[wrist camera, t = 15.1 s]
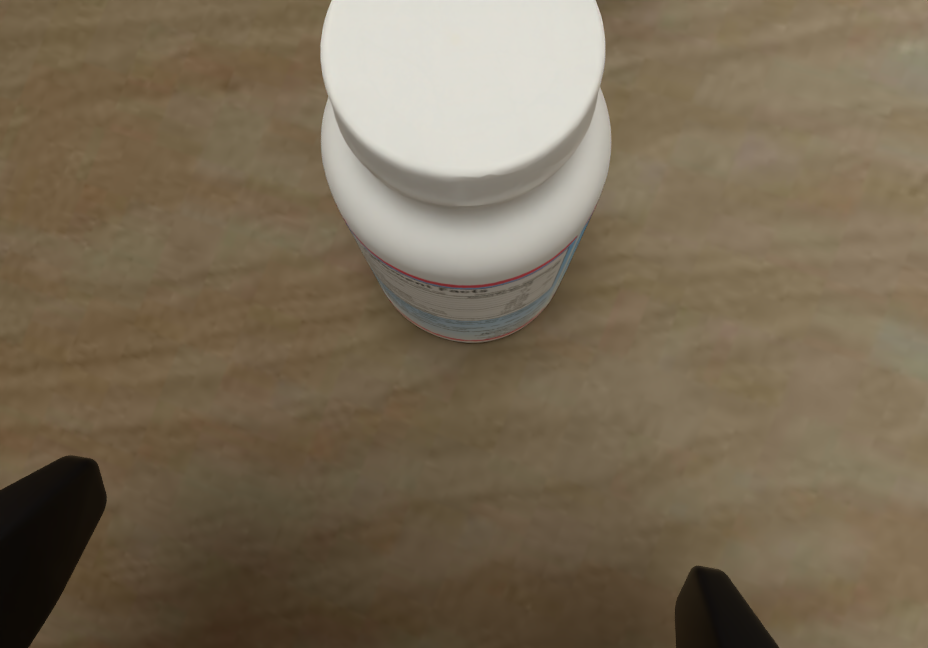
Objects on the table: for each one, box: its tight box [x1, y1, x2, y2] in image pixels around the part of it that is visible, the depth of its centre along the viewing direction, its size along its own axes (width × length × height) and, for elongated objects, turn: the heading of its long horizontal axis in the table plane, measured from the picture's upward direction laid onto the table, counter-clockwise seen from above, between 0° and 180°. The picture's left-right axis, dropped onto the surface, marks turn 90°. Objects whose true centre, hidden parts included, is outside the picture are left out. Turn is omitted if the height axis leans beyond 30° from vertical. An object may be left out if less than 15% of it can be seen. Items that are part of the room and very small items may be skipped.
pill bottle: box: [321, 0, 611, 343], centre depth 16 cm, size 6×6×11 cm
